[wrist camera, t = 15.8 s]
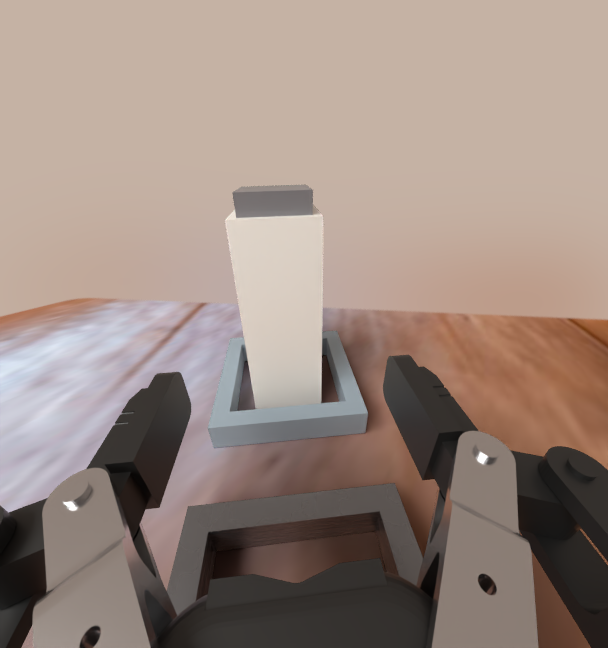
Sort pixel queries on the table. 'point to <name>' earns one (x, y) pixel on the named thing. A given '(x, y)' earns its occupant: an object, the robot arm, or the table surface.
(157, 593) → the robot arm
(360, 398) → the back socket
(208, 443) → the table surface
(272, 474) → the table surface
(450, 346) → the table surface
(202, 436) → the table surface
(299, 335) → the plug
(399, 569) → the front socket
